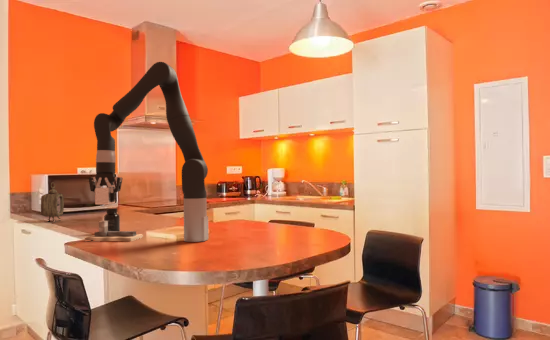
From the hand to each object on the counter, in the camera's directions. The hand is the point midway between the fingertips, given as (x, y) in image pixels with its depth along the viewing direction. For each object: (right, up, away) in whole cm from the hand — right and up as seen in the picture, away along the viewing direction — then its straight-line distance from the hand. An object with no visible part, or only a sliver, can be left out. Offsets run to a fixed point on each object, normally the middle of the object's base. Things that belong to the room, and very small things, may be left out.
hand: (105, 201), depth 165 cm
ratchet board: (+3, -16, +2) cm, 17 cm away
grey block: (0, -1, 0) cm, 1 cm away
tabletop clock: (-69, -20, +83) cm, 110 cm away
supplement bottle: (-6, -17, +21) cm, 28 cm away
